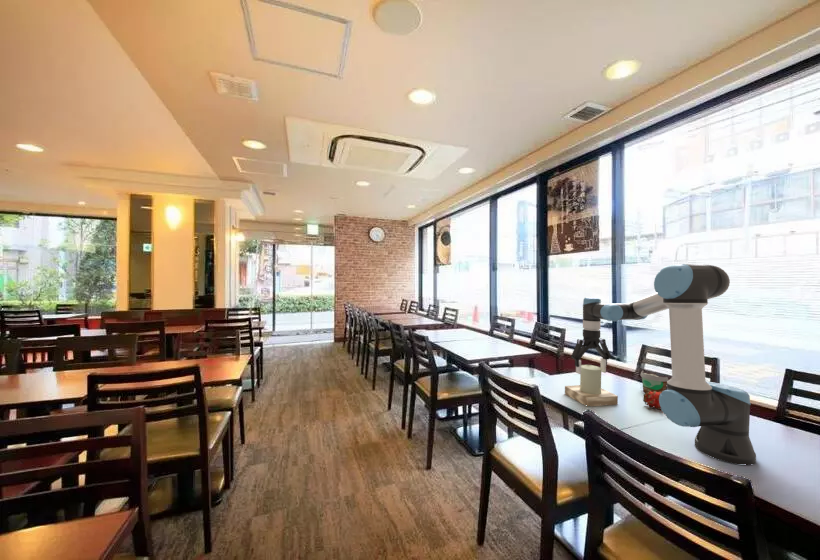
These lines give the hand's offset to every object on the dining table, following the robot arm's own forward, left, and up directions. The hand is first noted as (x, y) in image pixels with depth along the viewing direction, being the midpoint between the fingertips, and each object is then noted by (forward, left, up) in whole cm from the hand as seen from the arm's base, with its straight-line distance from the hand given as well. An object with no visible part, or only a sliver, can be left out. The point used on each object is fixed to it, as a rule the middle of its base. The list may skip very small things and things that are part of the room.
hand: (590, 372), depth 158 cm
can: (0, 0, -9) cm, 9 cm away
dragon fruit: (-14, -23, -13) cm, 30 cm away
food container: (+1, -36, -13) cm, 38 cm away
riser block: (0, 0, -13) cm, 13 cm away
